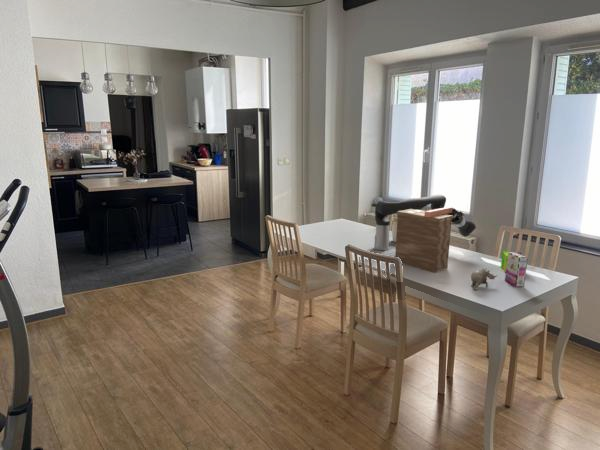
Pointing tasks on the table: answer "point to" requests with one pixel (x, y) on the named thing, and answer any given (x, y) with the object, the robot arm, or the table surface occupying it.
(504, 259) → the puzzle toy
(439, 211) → the baton
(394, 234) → the jug
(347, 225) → the table surface
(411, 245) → the cabinet
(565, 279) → the table surface
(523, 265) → the candy bar box
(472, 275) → the rhino figurine
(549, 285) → the table surface
